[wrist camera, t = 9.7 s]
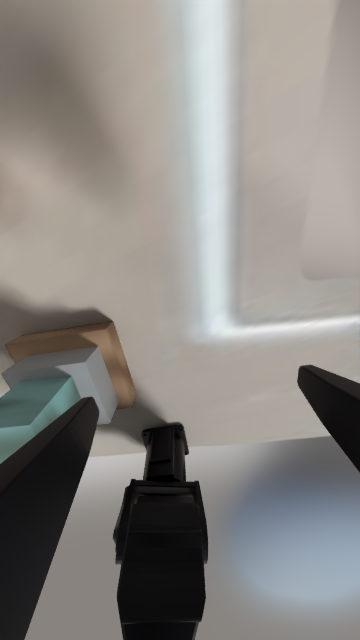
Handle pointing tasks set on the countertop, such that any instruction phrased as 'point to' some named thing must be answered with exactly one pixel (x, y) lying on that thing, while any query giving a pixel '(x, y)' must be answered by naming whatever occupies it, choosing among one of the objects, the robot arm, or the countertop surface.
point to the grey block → (75, 363)
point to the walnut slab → (83, 338)
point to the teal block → (33, 410)
